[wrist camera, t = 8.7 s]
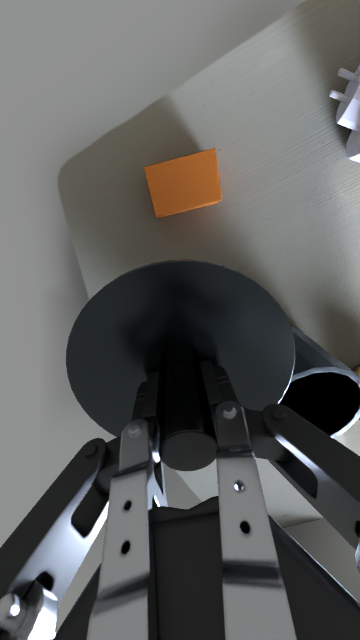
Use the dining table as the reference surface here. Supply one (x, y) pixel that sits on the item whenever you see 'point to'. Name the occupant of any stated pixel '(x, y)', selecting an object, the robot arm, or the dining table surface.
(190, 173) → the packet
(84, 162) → the dining table surface
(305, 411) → the trash can
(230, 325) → the bin lid
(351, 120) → the charger
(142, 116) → the dining table surface
